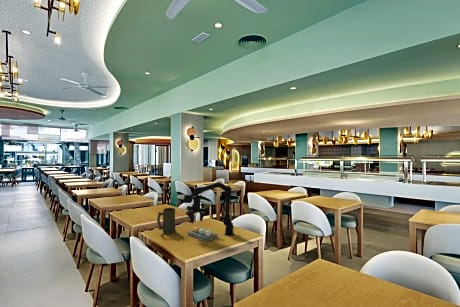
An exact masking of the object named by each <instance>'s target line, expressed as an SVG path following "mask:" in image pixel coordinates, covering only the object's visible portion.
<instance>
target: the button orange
mask: <svg viewBox="0 0 460 307" xmlns="http://www.w3.org/2000/svg"><path fill="white" fill-rule="evenodd" d="M199 229H201V228H200V226H194V227H193V230H194V232H195V233H198V232H199Z"/></svg>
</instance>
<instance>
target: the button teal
mask: <svg viewBox="0 0 460 307" xmlns="http://www.w3.org/2000/svg"><path fill="white" fill-rule="evenodd" d="M205 231H206V229H205V228H200V229H199V234H201V235H203V234H205Z"/></svg>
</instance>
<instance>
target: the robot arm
mask: <svg viewBox="0 0 460 307" xmlns="http://www.w3.org/2000/svg"><path fill="white" fill-rule="evenodd" d="M217 188H220V189H221V190H222V191H224V196H225V199H224V200H225V202H224V209H225V210H224V215H222V223H223V225H224V226H225V228H224V229H225V231H224V232H225V233H224V234H223V235H225V236H228V237H231V236H234V235H236V234H235V233H234V223H233V222H232V220H231V215H230V211H231V210H230V209H231V206H230V205H231V204H230V203H231V195H232V187H231V186H230V185H226V184H224V183H222V182H220V181H217V182H214V183H211V184H208V185H204V186H197V187H194V188H193V190H192V193H191V194H184V195H183V196H184V197H183V204H191V203H192V205H191V206H190V205H187V206H186V210H187V211H185V215H186V216H188V217H189V219H190V221H191V224H194V220H195V214H197V213H199V221H200V222H202V221H203V218H204V217H205V215H206V214H207V212H208V209H207V208H206V207H201V206H202V204H201V199H202V198H203V195H202V193H204V192H207V191H211V190H214V189H217Z"/></svg>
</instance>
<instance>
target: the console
mask: <svg viewBox="0 0 460 307" xmlns="http://www.w3.org/2000/svg"><path fill="white" fill-rule="evenodd" d="M187 236H189V237H192V238H195V239H197V240H200V241H203V242H208V241H212V240H215V239H217V238H218V234H216V233H213V232H211V236H209V237H207V236H205V234H203V235H201V234H199V232H198V233H195V232H194V229H193V230H191V231H187Z"/></svg>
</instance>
